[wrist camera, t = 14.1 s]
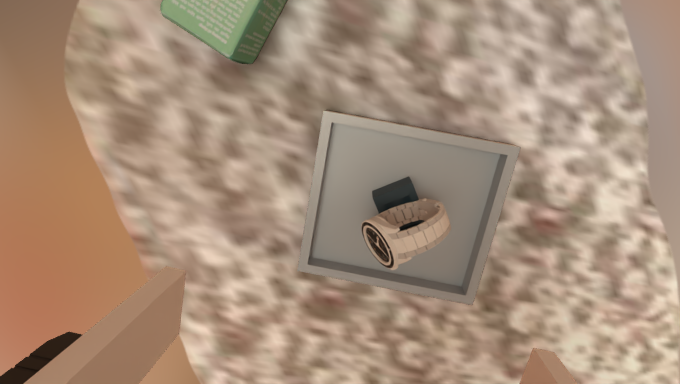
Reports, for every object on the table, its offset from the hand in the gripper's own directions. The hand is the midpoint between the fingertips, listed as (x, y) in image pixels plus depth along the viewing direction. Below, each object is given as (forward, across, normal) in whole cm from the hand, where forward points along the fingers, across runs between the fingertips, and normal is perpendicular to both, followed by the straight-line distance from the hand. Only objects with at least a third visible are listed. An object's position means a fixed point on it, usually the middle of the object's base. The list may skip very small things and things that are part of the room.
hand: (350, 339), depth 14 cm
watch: (+28, -5, +2) cm, 29 cm away
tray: (+29, -5, +2) cm, 29 cm away
